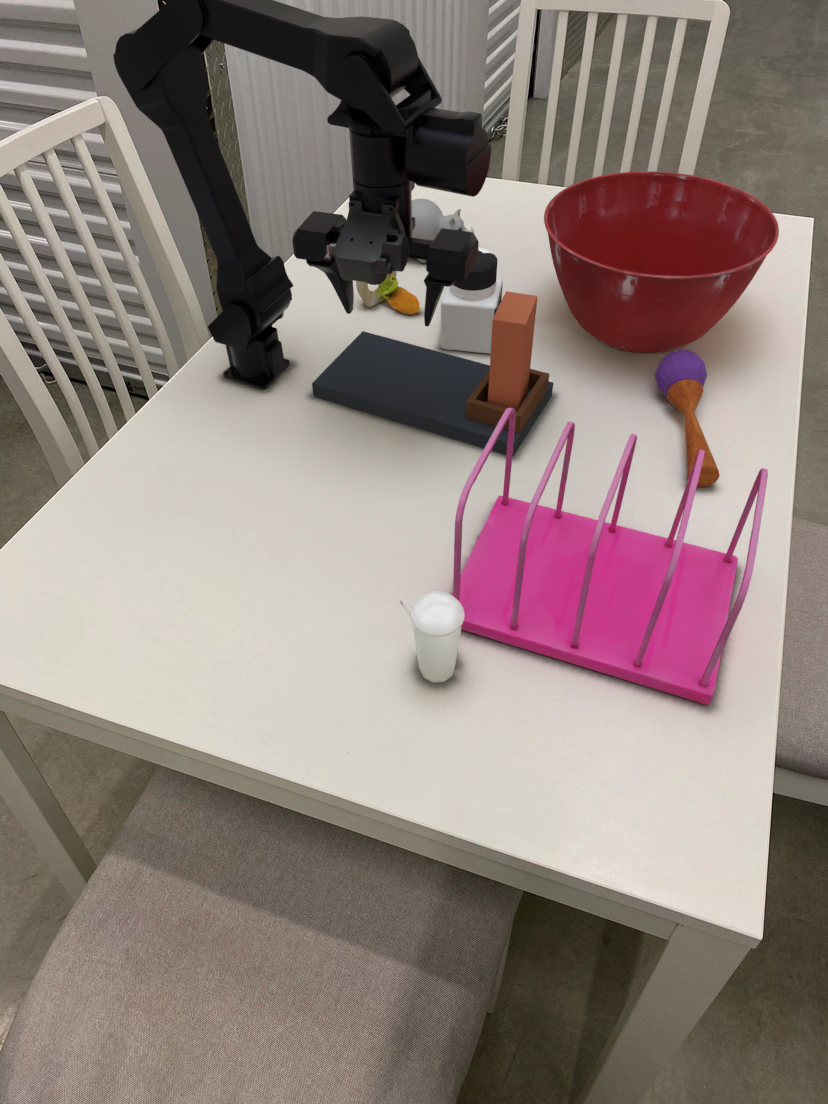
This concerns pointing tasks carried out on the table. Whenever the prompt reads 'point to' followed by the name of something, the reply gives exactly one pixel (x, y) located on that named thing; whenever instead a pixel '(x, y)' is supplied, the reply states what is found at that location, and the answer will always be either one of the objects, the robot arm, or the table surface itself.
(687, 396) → the purple and brown maraca
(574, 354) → the table surface
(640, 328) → the mixing bowl
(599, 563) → the file sorter
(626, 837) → the table surface
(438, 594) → the milkshake
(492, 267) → the medicine bottle
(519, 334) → the terracotta rectangular block
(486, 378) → the dark board with frame
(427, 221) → the chubby cartoon animal
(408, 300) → the rattle
